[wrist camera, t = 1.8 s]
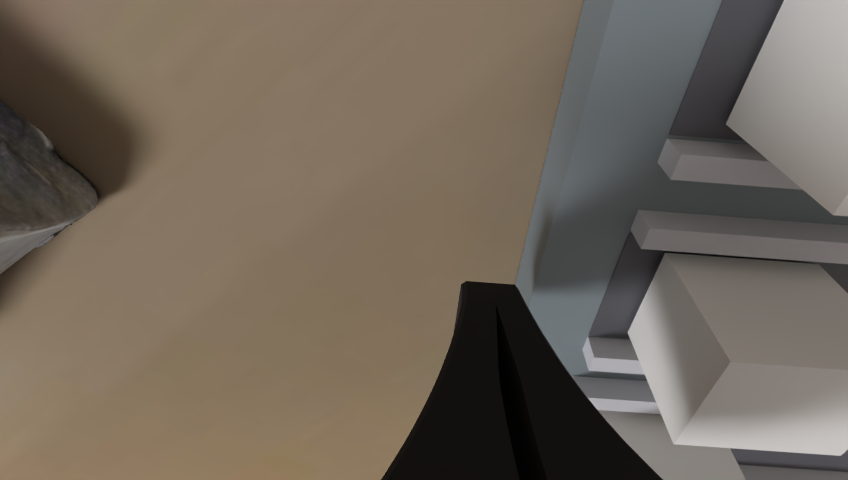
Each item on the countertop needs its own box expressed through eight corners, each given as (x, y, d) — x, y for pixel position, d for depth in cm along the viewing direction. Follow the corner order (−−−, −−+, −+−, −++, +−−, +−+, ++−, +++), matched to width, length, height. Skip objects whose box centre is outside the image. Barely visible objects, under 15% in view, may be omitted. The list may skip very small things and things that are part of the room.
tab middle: (762, 342, 14) (840, 455, 11) (627, 332, 14) (673, 444, 11) (818, 264, 12) (929, 375, 10) (665, 252, 12) (730, 362, 9)
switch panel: (886, 451, 21) (940, 518, 19) (481, 422, 21) (486, 487, 19) (1562, -109, 9) (1924, -106, 7) (629, -189, 9) (693, -213, 7)
